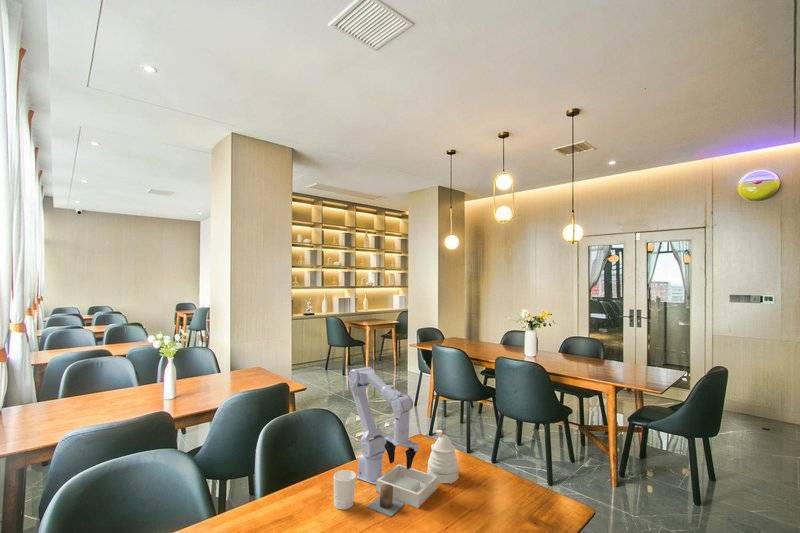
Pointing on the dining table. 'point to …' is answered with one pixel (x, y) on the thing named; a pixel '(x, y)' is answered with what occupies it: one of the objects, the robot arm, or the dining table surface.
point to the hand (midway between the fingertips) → (400, 465)
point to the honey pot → (443, 460)
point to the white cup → (344, 489)
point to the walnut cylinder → (386, 496)
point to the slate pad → (388, 512)
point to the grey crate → (409, 485)
